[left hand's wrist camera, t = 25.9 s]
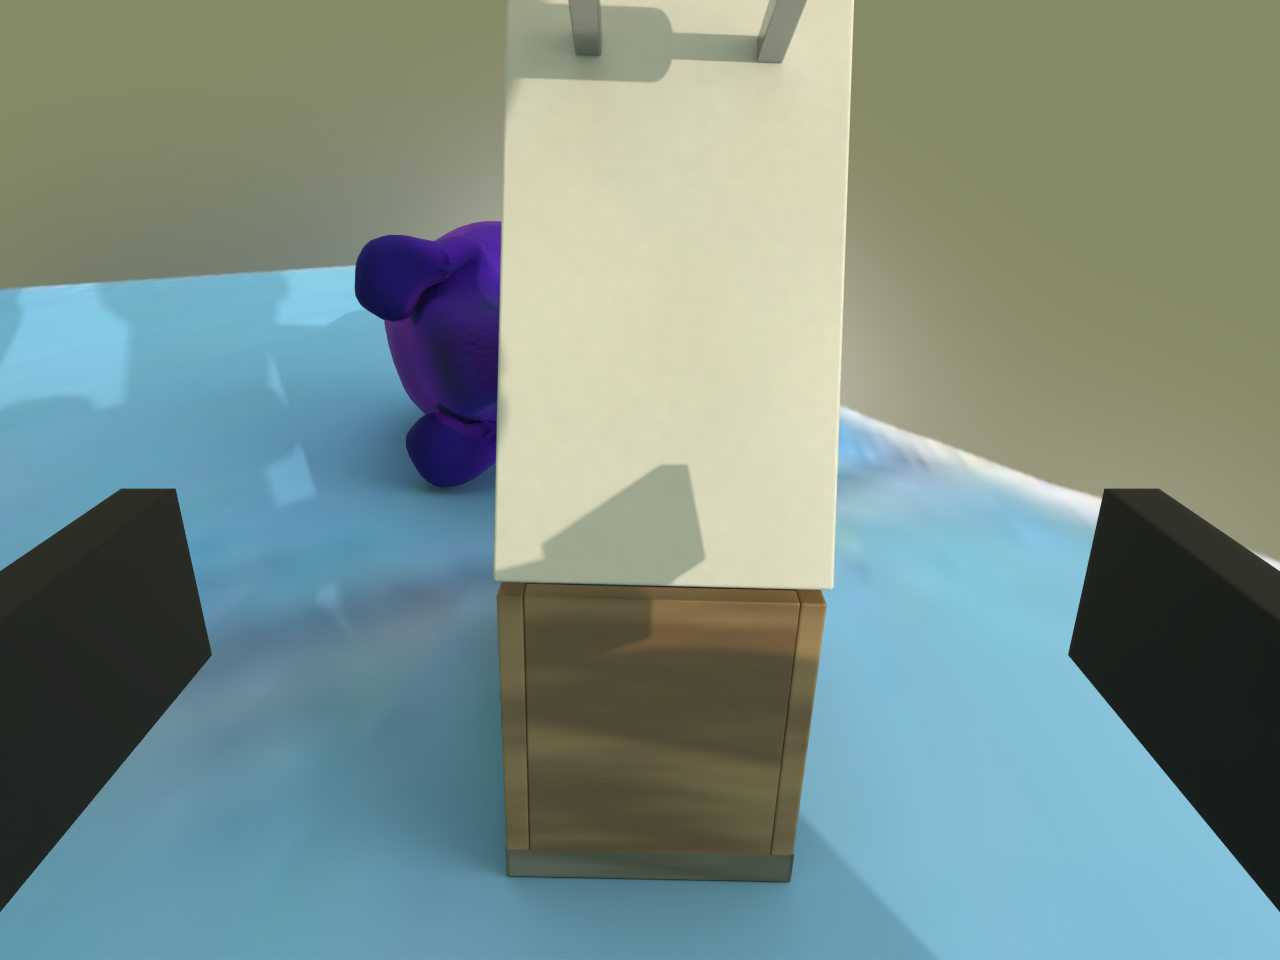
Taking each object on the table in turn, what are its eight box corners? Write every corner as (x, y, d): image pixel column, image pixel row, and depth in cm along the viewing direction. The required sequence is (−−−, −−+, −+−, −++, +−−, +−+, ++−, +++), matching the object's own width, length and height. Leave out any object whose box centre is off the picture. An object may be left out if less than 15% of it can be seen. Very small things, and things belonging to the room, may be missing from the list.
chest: (552, 609, 43) (550, 409, 39) (736, 613, 43) (753, 415, 39) (506, 876, 28) (495, 595, 24) (790, 881, 28) (828, 604, 24)
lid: (511, -32, 23) (442, -324, 15) (846, -20, 24) (978, -301, 15) (497, 577, 24) (423, 649, 15) (826, 585, 24) (940, 661, 15)
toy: (376, 543, 48) (442, 429, 74) (684, 466, 48) (641, 380, 74) (275, 257, 43) (384, 244, 69) (617, 173, 43) (597, 191, 69)
